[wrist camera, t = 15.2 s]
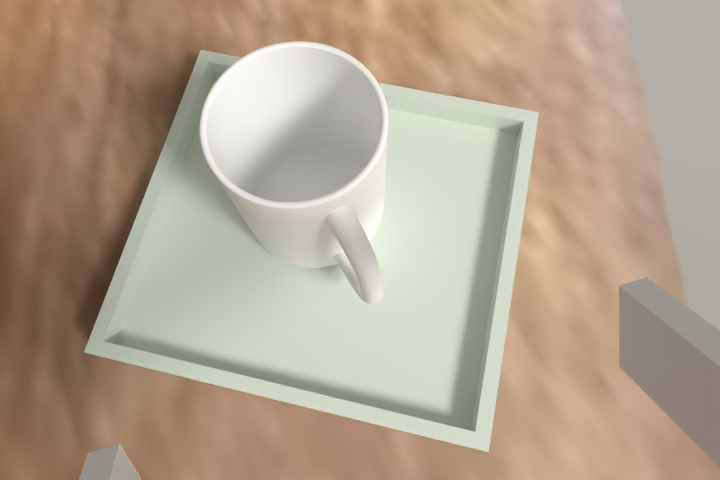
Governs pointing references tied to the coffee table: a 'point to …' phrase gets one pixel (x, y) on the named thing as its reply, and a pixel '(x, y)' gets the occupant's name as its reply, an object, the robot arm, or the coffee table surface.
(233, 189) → the cup
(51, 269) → the coffee table surface
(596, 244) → the coffee table surface
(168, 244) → the sage tray
